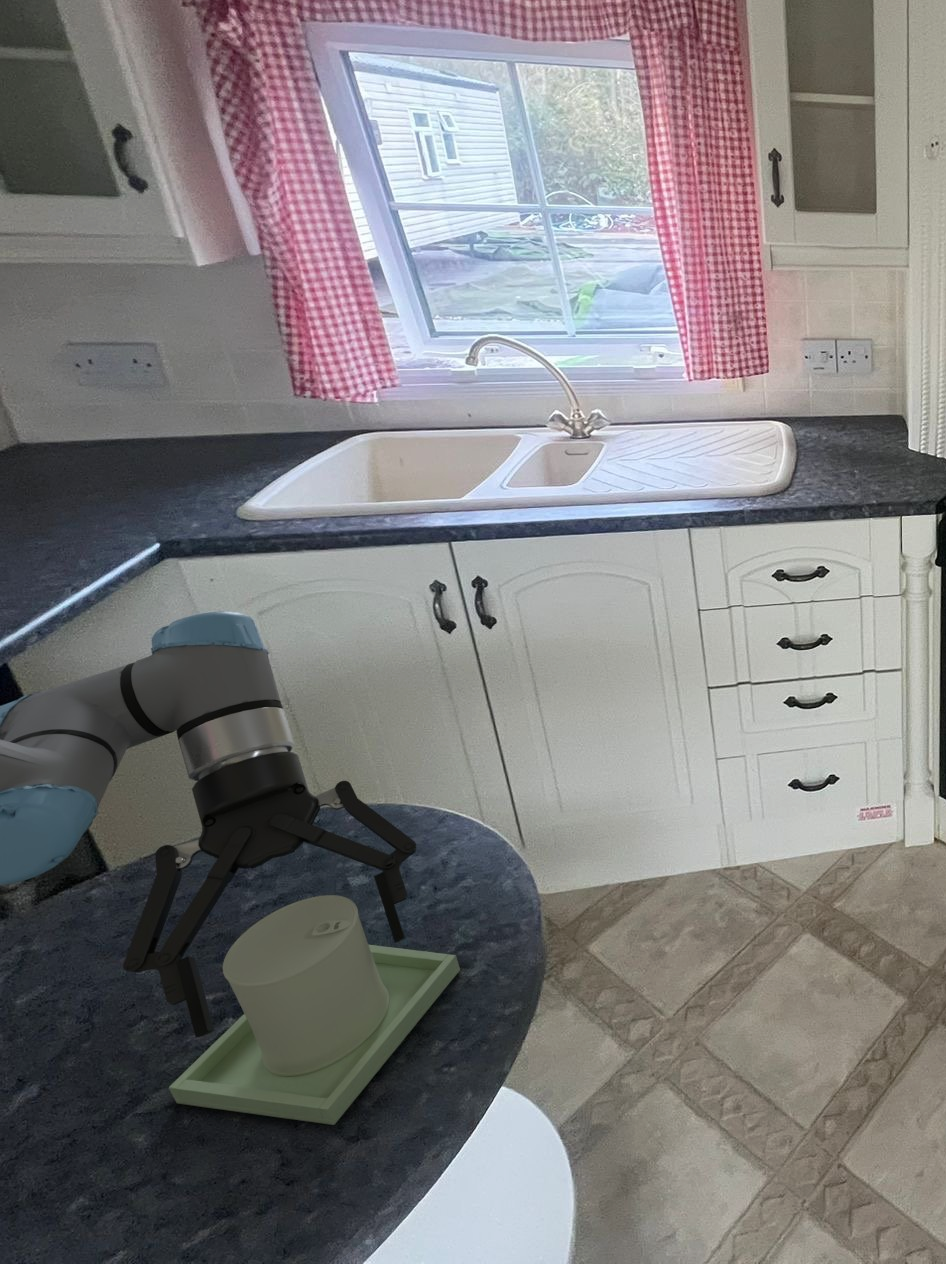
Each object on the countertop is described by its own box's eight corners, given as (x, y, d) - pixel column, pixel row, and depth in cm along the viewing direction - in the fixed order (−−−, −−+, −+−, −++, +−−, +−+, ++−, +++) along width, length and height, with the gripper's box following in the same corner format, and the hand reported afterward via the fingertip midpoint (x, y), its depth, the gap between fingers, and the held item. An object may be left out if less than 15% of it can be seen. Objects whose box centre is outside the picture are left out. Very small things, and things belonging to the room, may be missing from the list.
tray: (176, 1103, 70) (167, 1087, 69) (326, 953, 84) (320, 938, 83) (334, 1125, 69) (327, 1109, 68) (460, 969, 83) (456, 954, 82)
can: (372, 1056, 74) (336, 961, 69) (243, 1092, 71) (196, 996, 66) (401, 968, 82) (371, 879, 77) (287, 998, 79) (248, 906, 74)
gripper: (404, 722, 89) (467, 909, 85) (64, 838, 73) (121, 1077, 68) (402, 704, 84) (469, 903, 79) (34, 825, 67) (94, 1084, 63)
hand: (308, 984), depth 74 cm, fingers open, 13 cm apart
